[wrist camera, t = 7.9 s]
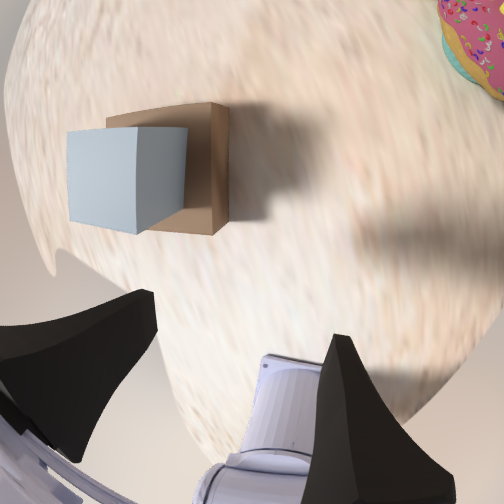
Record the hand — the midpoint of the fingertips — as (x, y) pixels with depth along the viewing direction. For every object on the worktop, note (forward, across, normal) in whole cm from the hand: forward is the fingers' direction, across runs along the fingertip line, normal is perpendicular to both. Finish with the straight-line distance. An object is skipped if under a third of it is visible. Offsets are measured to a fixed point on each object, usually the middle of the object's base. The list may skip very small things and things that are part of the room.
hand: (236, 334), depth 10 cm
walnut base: (+11, +8, -4) cm, 14 cm away
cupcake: (+10, -12, -17) cm, 23 cm away
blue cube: (+7, +8, -5) cm, 12 cm away
